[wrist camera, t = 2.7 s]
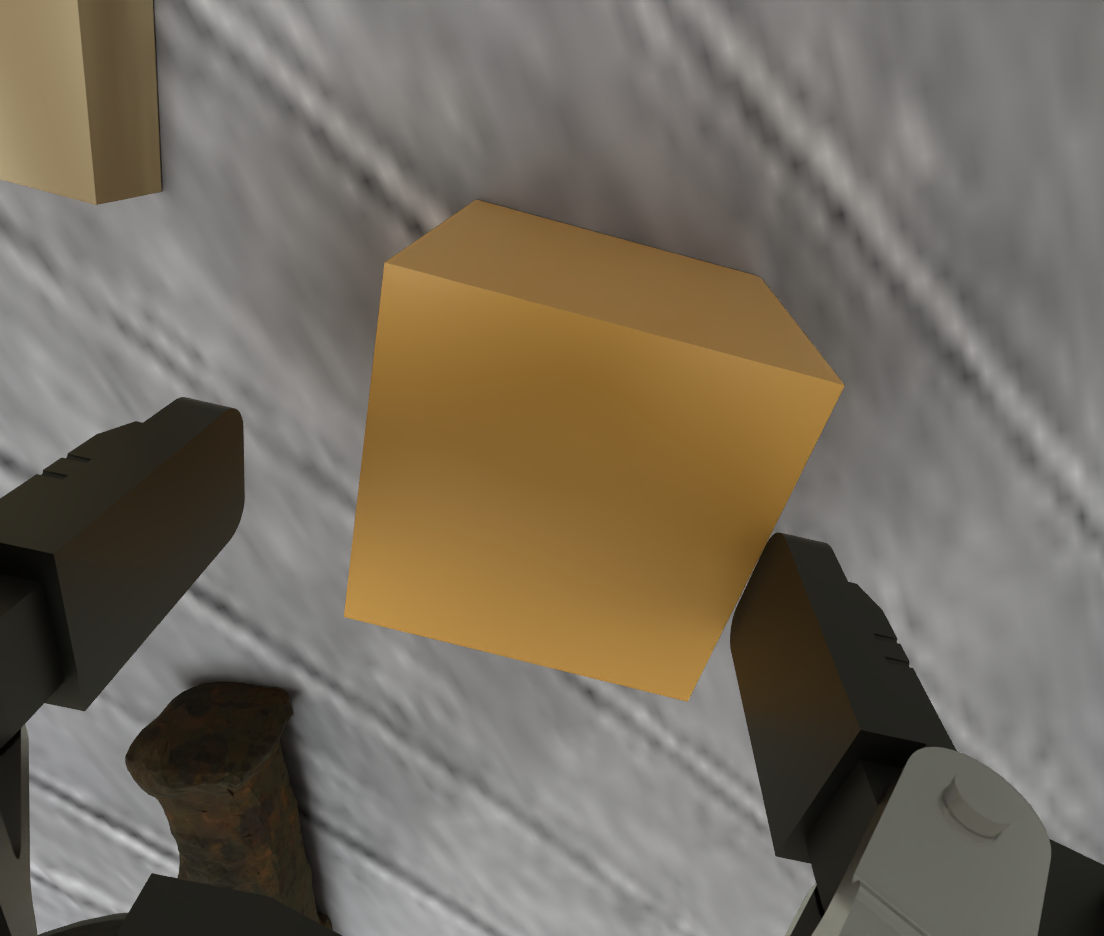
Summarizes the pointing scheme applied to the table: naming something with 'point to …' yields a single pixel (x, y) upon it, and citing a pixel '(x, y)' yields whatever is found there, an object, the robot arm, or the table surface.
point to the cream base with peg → (79, 98)
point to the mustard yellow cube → (575, 446)
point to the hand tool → (228, 791)
